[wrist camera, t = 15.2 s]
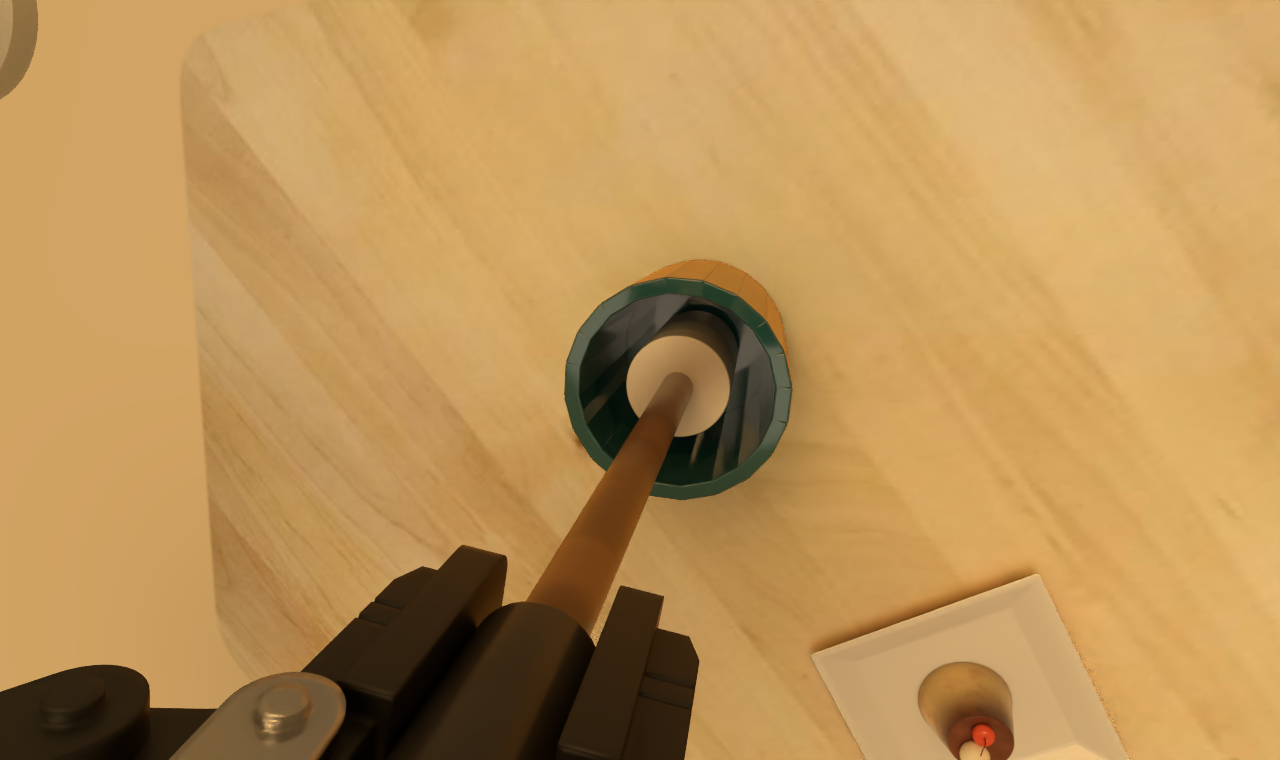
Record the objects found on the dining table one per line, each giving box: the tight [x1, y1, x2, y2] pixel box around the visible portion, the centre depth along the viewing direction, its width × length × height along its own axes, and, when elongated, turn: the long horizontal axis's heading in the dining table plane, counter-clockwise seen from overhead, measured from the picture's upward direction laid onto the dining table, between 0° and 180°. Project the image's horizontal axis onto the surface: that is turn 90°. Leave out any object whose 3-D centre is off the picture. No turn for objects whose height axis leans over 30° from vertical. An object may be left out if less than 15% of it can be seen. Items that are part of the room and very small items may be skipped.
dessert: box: [811, 574, 1130, 760], centre depth 35 cm, size 12×12×5 cm
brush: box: [385, 311, 738, 760], centre depth 20 cm, size 4×4×28 cm
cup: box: [564, 260, 792, 500], centre depth 31 cm, size 8×8×10 cm
